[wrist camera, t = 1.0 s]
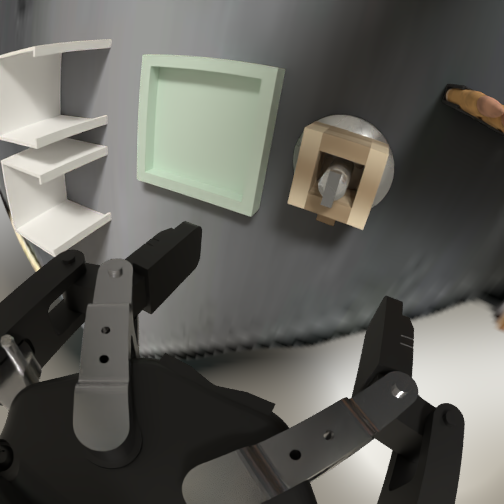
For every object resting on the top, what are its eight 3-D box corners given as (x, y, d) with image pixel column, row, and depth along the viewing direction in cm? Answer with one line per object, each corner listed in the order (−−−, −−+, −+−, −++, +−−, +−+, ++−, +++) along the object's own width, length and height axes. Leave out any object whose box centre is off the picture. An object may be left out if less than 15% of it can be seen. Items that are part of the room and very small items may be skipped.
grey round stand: (306, 102, 25) (281, 109, 20) (406, 134, 23) (413, 151, 18) (286, 193, 31) (259, 224, 25) (375, 224, 28) (370, 264, 23)
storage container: (61, 45, 31) (-5, 56, 22) (112, 39, 28) (35, 46, 20) (67, 200, 45) (15, 231, 37) (112, 219, 43) (55, 257, 34)
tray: (155, 54, 28) (142, 54, 26) (285, 68, 24) (278, 68, 23) (148, 173, 36) (136, 179, 34) (259, 208, 33) (251, 217, 31)
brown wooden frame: (315, 121, 25) (304, 127, 22) (388, 144, 24) (388, 154, 21) (296, 202, 30) (283, 220, 27) (361, 225, 28) (356, 246, 25)
